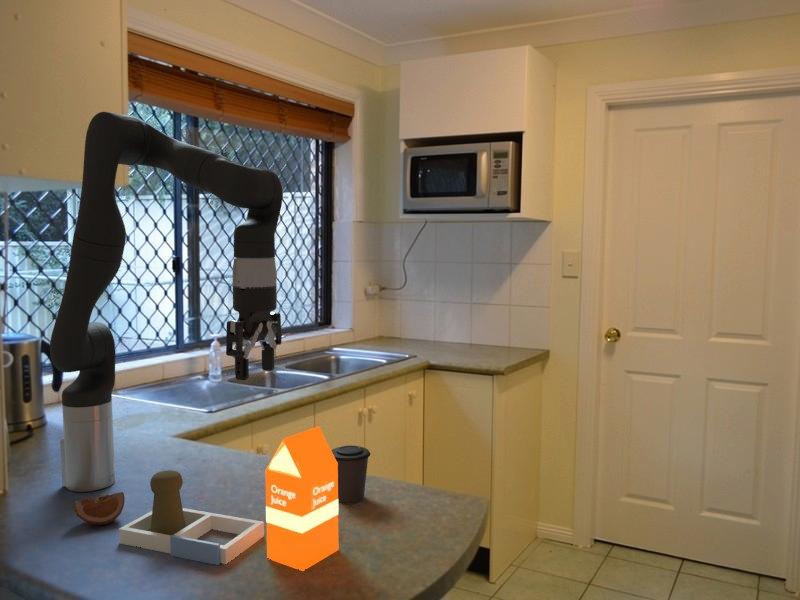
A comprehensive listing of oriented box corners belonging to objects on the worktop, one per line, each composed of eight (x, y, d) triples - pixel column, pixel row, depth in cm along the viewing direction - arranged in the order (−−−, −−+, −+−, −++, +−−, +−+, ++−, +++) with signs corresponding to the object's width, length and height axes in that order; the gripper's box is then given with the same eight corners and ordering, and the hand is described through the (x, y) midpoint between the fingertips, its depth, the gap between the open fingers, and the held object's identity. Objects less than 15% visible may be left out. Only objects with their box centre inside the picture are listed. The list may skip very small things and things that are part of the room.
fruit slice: (75, 534, 119) (73, 506, 118) (73, 520, 125) (71, 493, 124) (127, 525, 123) (126, 497, 122) (122, 511, 129) (121, 485, 128)
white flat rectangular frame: (116, 544, 115) (115, 526, 114) (163, 518, 125) (163, 500, 125) (223, 566, 107) (223, 546, 107) (264, 535, 118) (263, 517, 118)
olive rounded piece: (174, 524, 123) (171, 464, 122) (194, 534, 119) (192, 471, 118) (142, 536, 118) (140, 473, 117) (162, 546, 114) (160, 481, 113)
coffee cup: (378, 495, 136) (378, 445, 135) (355, 509, 129) (355, 457, 128) (344, 488, 140) (344, 439, 139) (320, 501, 133) (320, 450, 132)
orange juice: (266, 558, 110) (263, 435, 108) (303, 538, 117) (301, 422, 115) (303, 571, 106) (301, 443, 104) (339, 549, 113) (338, 429, 111)
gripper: (257, 280, 129) (258, 366, 131) (212, 285, 116) (213, 381, 117) (293, 281, 127) (293, 369, 128) (251, 287, 113) (252, 385, 115)
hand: (255, 374), depth 123 cm, fingers open, 8 cm apart
